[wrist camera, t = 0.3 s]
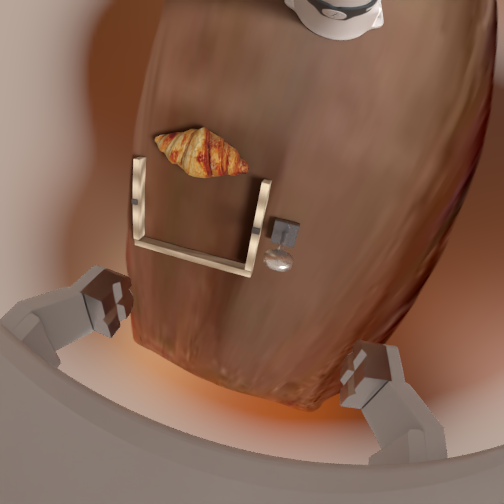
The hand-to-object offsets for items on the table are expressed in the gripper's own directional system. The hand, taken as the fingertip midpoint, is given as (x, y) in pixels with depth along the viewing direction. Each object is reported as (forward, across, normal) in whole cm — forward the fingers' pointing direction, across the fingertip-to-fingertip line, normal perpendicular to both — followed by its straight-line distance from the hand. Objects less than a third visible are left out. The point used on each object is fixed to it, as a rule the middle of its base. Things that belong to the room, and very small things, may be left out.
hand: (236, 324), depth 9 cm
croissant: (+47, +19, +4) cm, 51 cm away
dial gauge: (+46, -1, +18) cm, 50 cm away
